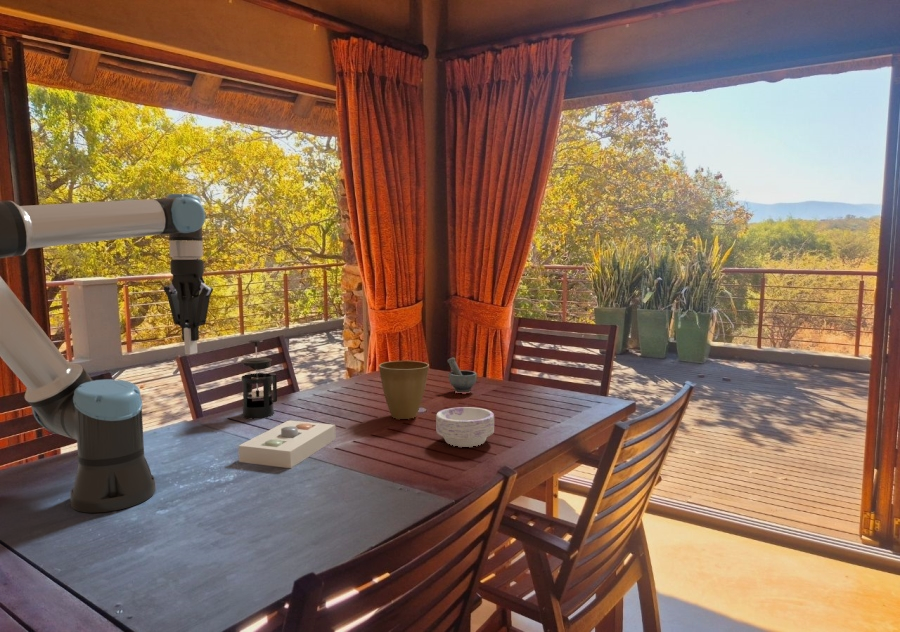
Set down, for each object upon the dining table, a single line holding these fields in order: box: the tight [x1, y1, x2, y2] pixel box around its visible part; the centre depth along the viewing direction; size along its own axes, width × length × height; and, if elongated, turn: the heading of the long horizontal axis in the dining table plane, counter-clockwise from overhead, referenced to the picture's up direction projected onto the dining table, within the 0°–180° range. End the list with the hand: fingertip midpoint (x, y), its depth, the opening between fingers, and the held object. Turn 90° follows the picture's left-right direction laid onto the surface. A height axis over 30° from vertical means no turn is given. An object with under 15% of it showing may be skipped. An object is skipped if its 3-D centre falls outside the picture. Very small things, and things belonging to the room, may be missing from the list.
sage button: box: [265, 439, 282, 447], centre depth 145 cm, size 4×4×4 cm
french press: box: [240, 339, 278, 420], centre depth 183 cm, size 12×9×23 cm
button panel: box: [238, 419, 337, 469], centre depth 152 cm, size 22×14×4 cm, turn 163°
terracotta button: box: [296, 423, 312, 430], centre depth 158 cm, size 4×4×4 cm
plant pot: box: [378, 360, 430, 420], centre depth 181 cm, size 15×15×16 cm
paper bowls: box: [435, 406, 495, 448], centre depth 158 cm, size 15×15×8 cm
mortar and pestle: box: [447, 357, 478, 392], centre depth 213 cm, size 11×9×12 cm
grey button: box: [281, 426, 298, 438], centre depth 151 cm, size 4×4×4 cm
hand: (191, 353), depth 150 cm, fingers closed
